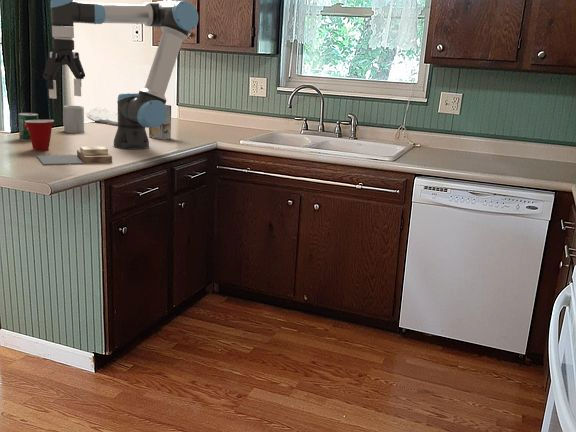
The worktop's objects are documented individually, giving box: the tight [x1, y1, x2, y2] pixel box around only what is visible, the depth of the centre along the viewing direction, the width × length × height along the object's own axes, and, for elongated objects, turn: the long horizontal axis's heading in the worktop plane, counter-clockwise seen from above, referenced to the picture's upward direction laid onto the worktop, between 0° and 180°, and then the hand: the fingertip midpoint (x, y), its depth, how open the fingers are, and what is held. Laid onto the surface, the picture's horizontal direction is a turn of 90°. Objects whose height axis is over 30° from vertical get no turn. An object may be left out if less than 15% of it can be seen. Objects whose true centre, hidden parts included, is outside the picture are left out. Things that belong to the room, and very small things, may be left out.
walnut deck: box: [76, 149, 113, 165], centre depth 231 cm, size 10×14×2 cm
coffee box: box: [148, 104, 172, 140], centre depth 291 cm, size 9×6×16 cm
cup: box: [63, 105, 85, 134], centre depth 291 cm, size 9×9×12 cm
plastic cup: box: [25, 119, 55, 152], centre depth 241 cm, size 11×11×12 cm
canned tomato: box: [17, 112, 39, 142], centre depth 261 cm, size 8×8×11 cm
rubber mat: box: [36, 154, 85, 166], centre depth 225 cm, size 14×16×1 cm
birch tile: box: [79, 145, 109, 155], centre depth 230 cm, size 9×6×2 cm, turn 120°
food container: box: [85, 106, 118, 126], centre depth 328 cm, size 12×30×6 cm, turn 57°
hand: (65, 97), depth 227 cm, fingers open, 13 cm apart
